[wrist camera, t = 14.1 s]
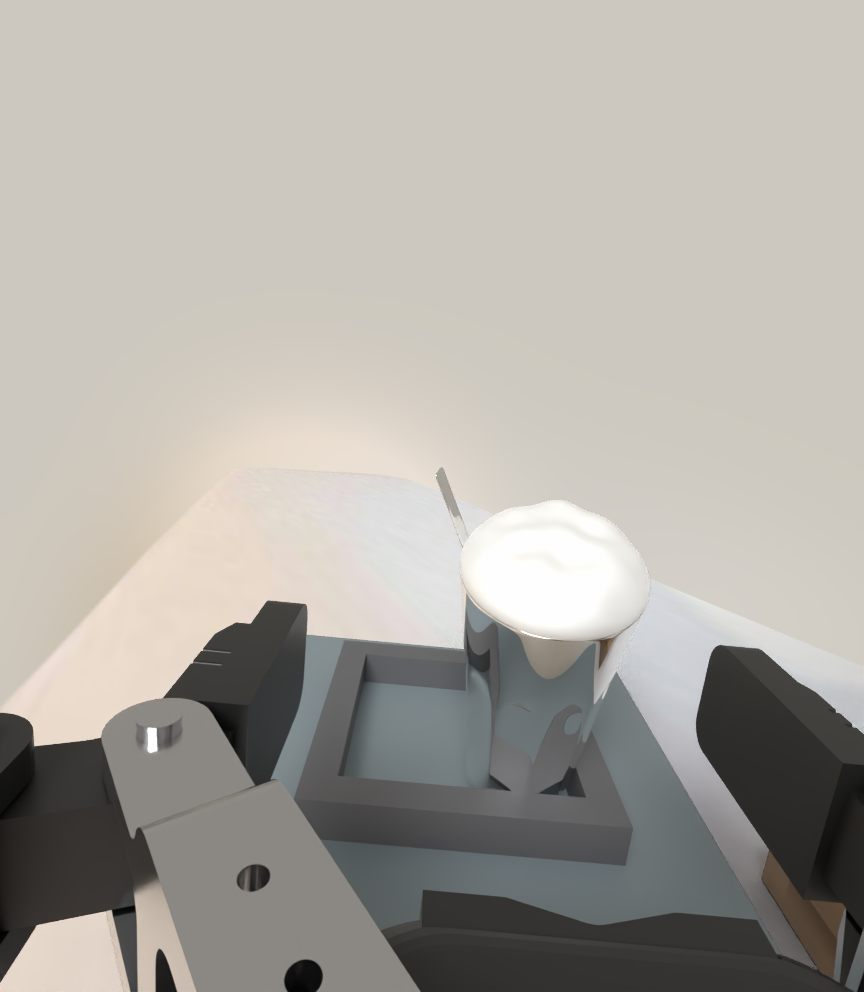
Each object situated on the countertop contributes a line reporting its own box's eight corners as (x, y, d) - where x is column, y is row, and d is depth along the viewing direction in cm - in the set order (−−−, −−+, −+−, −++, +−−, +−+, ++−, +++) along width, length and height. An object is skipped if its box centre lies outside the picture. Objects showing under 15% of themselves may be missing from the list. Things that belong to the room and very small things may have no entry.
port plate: (607, 682, 27) (615, 639, 27) (778, 1001, 14) (801, 925, 13) (283, 652, 27) (286, 608, 27) (132, 948, 14) (131, 868, 13)
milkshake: (447, 683, 21) (467, 432, 16) (598, 733, 20) (675, 474, 15) (396, 795, 18) (400, 518, 12) (575, 867, 16) (668, 586, 11)
